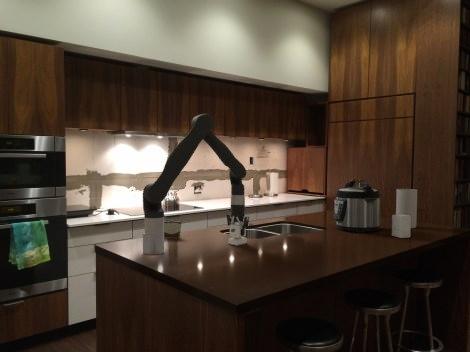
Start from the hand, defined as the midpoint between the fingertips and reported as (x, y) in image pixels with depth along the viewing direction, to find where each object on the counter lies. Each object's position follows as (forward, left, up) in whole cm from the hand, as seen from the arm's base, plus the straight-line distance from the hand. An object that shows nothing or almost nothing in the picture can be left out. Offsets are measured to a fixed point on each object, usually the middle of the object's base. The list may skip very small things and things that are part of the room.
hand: (237, 234), depth 206 cm
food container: (-11, +40, -5) cm, 41 cm away
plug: (0, 0, -3) cm, 3 cm away
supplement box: (+79, -58, -5) cm, 98 cm away
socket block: (0, 0, -5) cm, 5 cm away
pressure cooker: (+83, -29, -5) cm, 88 cm away
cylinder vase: (+114, -50, -5) cm, 125 cm away
